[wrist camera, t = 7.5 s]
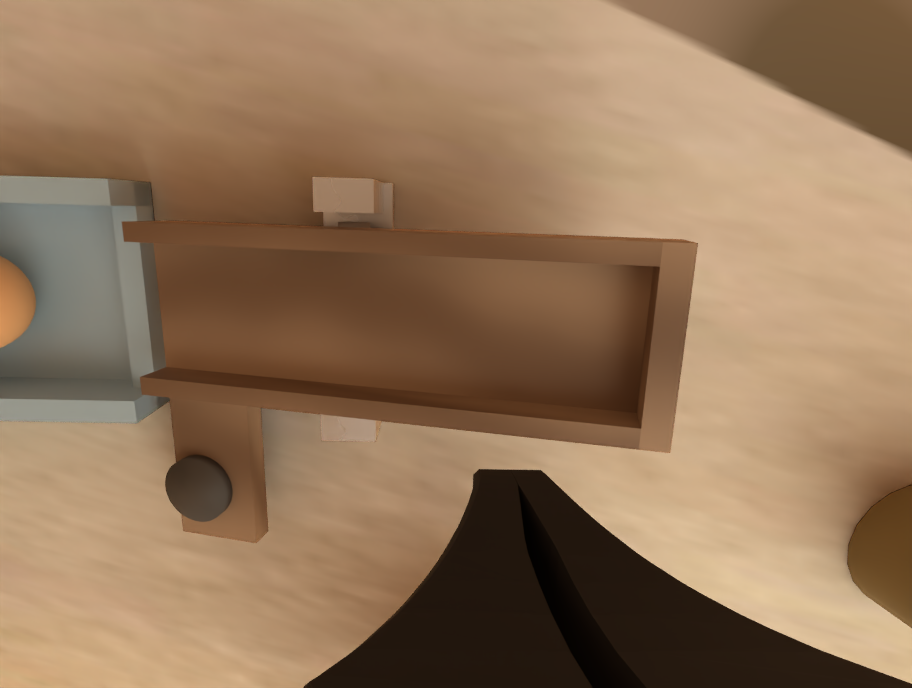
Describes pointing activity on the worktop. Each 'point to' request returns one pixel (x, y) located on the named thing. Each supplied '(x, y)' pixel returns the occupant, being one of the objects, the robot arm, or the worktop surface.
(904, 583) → the olive green pepper shaker
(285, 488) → the worktop surface
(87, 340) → the dish
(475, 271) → the lever
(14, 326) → the ball
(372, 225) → the fulcrum
